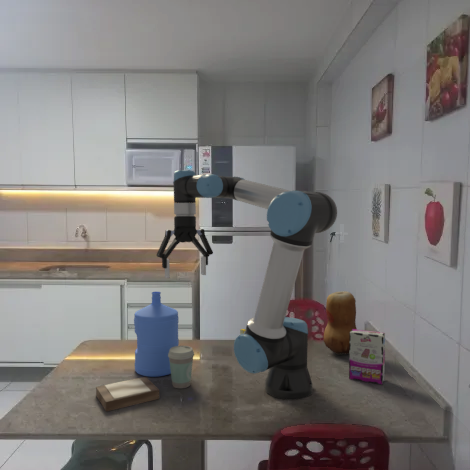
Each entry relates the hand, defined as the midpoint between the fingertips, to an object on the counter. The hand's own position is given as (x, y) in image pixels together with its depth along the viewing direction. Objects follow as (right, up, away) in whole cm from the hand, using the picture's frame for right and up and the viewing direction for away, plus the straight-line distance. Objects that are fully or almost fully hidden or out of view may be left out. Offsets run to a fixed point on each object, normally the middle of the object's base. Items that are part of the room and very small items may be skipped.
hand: (185, 276), depth 151 cm
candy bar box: (+62, -35, -4) cm, 71 cm away
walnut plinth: (-16, -35, -18) cm, 43 cm away
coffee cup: (0, -35, -9) cm, 36 cm away
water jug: (-11, -34, +4) cm, 36 cm away
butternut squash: (+60, -33, +21) cm, 71 cm away
